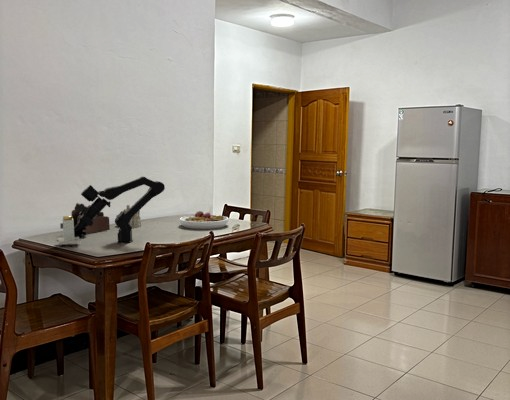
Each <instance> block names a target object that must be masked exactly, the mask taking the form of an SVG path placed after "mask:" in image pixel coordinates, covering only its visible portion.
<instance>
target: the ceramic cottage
mask: <svg viewBox="0 0 510 400" xmlns="http://www.w3.org/2000/svg"><path fill="white" fill-rule="evenodd" d="M136 202H137V201H136ZM136 202H135V203H136ZM135 203H134V204H135ZM130 208H131V206H130V204H127V205H126V208H124V209H123V210H122V211H123V212H126V211H127V210H129V209H130ZM140 210H141V209H140ZM140 210H139V211H138V212H137V213H136V214H135V215H134V216H133V217H132V219H131V220H130V222H129V223H128V224H130V226H131V227H132V229H135V228H140V227H143V226H142V221H141V216H140Z"/></svg>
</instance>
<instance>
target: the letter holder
mask: <svg viewBox="0 0 510 400" xmlns="http://www.w3.org/2000/svg"><path fill="white" fill-rule="evenodd" d="M80 212H81V211H79V210H75V209H73V210H71V212H70V213H71V214H70V216H72V217H73V221H74V226H75V225H77V223H78V222H79V216H80V217H81V215H80V214H79V213H80ZM104 215H105V214H104V211H100V213H99V215H97V216H96V217H95V218H94V220H93V225H92V226H91V227H90V226H86V230H84V229H83V231H84V232H86V235H89V234H90V235H91V234H95V233H98V232H104V231H109V230H110V217H109V216H104Z"/></svg>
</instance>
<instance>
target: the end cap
mask: <svg viewBox="0 0 510 400" xmlns="http://www.w3.org/2000/svg"><path fill="white" fill-rule="evenodd" d="M75 227H76V225H75V226H74V228H75ZM83 229H84V230H86V227H84V228H82V229H80V230H77V231H74V237H79V239H80V238H81V239H85V238H87V234H86V232H84V231H83ZM81 239H80V240H81Z"/></svg>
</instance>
